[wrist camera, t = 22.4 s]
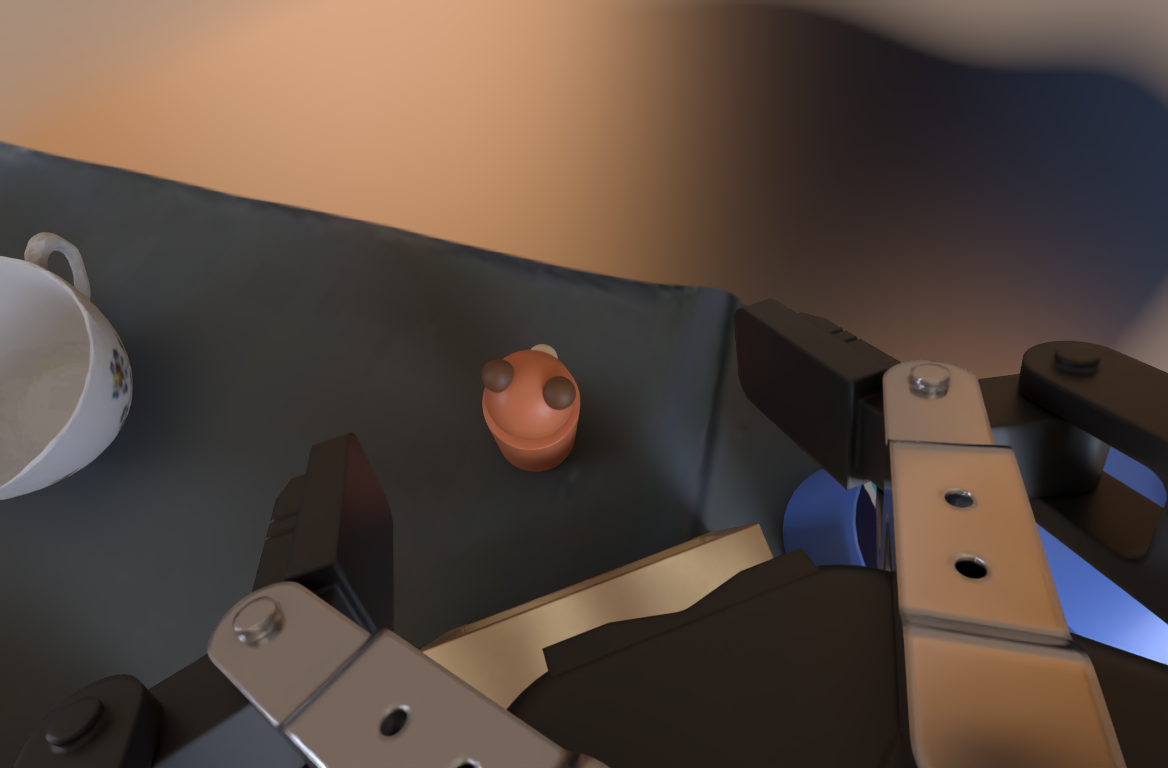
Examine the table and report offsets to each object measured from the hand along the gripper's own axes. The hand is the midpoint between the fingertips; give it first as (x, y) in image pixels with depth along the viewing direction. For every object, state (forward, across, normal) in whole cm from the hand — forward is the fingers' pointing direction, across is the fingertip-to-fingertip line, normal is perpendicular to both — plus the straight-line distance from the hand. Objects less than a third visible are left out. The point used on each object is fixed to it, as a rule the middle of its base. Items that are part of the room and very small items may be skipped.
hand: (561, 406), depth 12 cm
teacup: (+29, +24, +6) cm, 38 cm away
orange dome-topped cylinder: (+20, 0, +14) cm, 25 cm away
